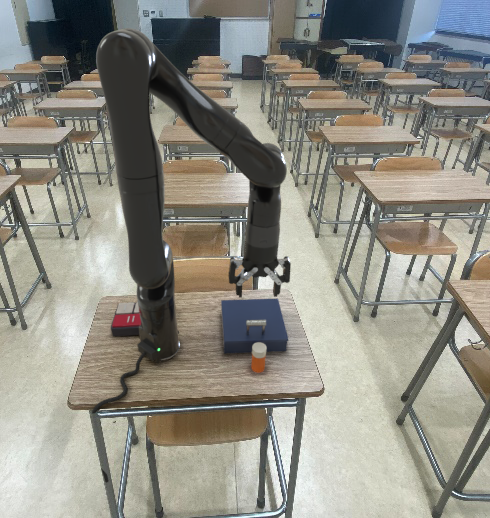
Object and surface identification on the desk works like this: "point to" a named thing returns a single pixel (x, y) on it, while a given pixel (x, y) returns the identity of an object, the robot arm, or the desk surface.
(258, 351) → the glue stick
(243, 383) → the desk surface
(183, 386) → the desk surface
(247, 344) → the pencil box
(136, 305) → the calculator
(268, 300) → the lid
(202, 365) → the desk surface
